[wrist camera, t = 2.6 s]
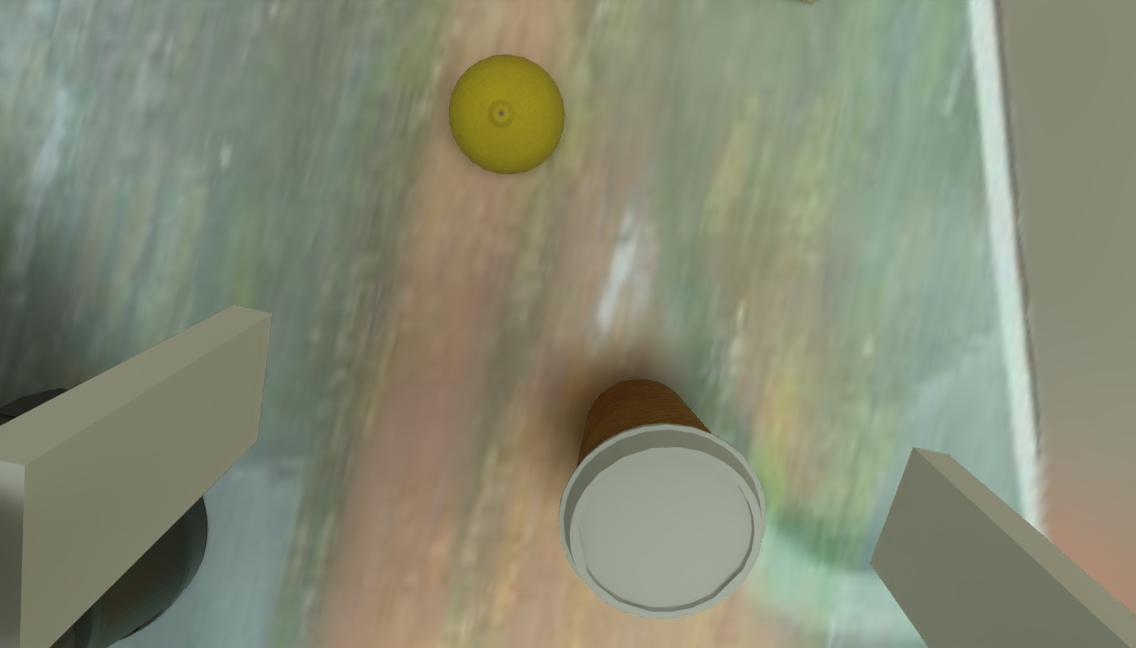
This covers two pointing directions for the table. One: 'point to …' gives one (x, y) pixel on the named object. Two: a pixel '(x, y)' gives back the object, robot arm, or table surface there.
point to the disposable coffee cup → (659, 506)
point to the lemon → (506, 114)
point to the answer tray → (810, 1)
